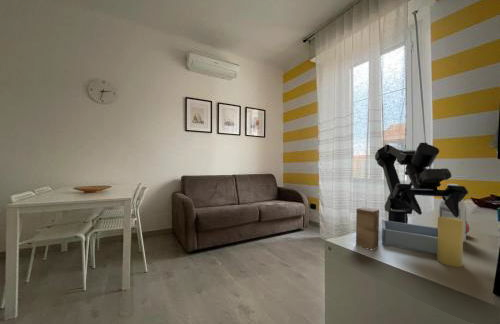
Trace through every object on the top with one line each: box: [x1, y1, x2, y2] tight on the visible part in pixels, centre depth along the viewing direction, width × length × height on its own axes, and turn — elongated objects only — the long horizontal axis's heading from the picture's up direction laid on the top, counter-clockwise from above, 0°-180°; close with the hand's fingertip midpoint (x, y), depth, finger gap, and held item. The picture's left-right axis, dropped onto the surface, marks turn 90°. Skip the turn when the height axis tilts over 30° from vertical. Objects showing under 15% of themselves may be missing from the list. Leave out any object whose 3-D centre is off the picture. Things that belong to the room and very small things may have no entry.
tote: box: [381, 219, 438, 255], centre depth 70 cm, size 18×14×5 cm
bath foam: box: [438, 183, 467, 243], centre depth 75 cm, size 7×7×20 cm
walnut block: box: [355, 206, 380, 251], centre depth 68 cm, size 5×5×12 cm
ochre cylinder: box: [436, 216, 464, 268], centre depth 57 cm, size 5×5×12 cm
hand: (438, 215), depth 62 cm, fingers open, 9 cm apart
